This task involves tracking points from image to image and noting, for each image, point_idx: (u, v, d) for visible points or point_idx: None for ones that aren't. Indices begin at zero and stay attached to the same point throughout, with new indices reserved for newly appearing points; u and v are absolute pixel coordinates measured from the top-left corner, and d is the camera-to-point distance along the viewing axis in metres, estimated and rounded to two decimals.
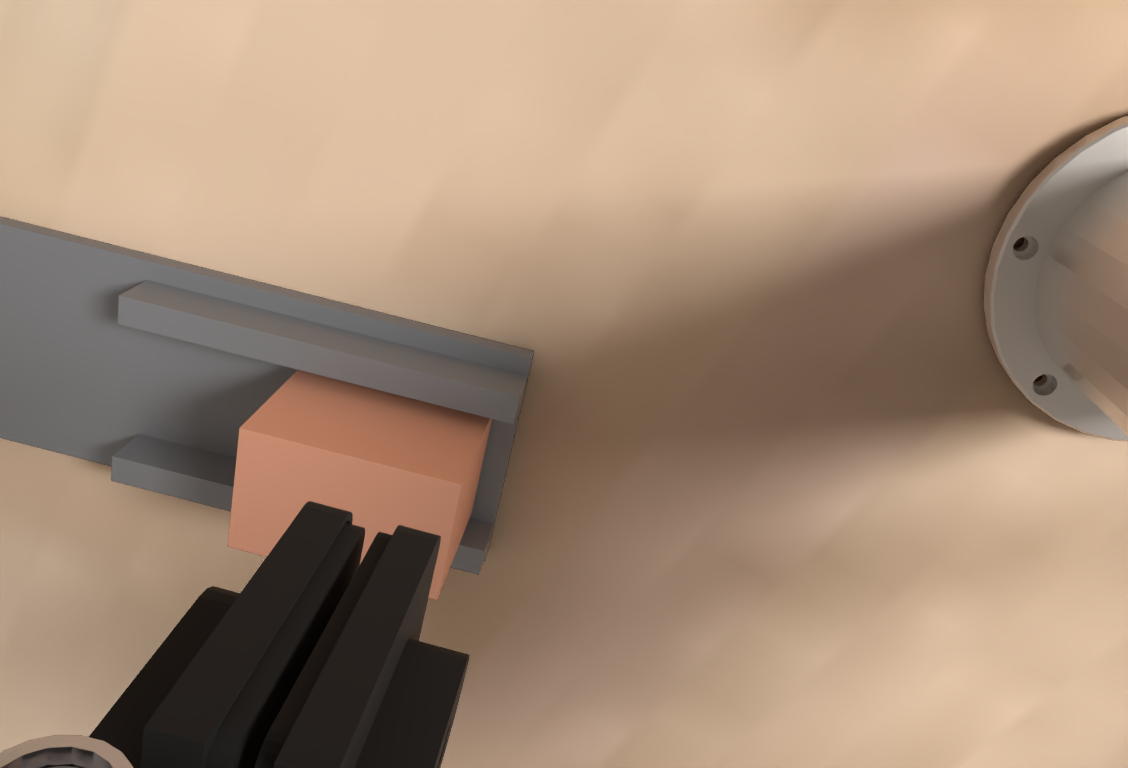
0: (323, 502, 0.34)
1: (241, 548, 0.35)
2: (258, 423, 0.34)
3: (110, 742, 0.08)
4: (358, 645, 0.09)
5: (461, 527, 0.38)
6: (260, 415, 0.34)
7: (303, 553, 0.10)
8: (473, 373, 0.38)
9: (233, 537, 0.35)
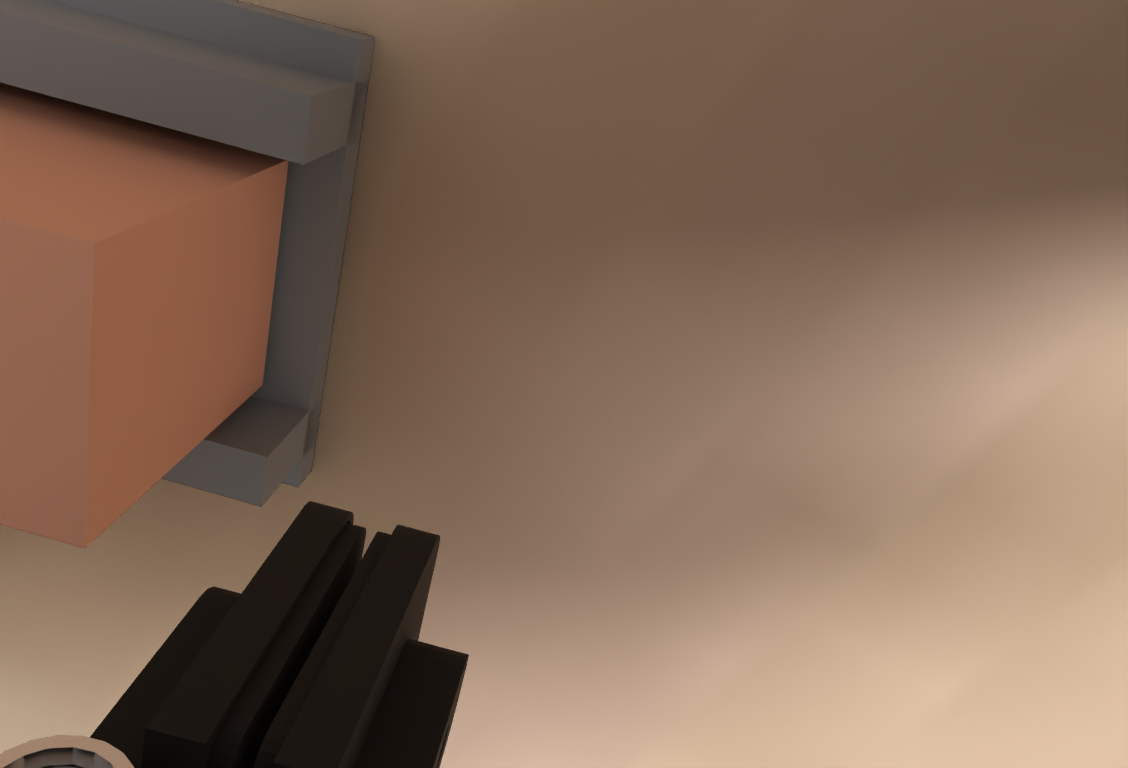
0: None
1: None
2: None
3: (111, 743, 0.08)
4: (357, 645, 0.09)
5: (195, 396, 0.17)
6: None
7: (304, 554, 0.10)
8: (226, 59, 0.17)
9: None
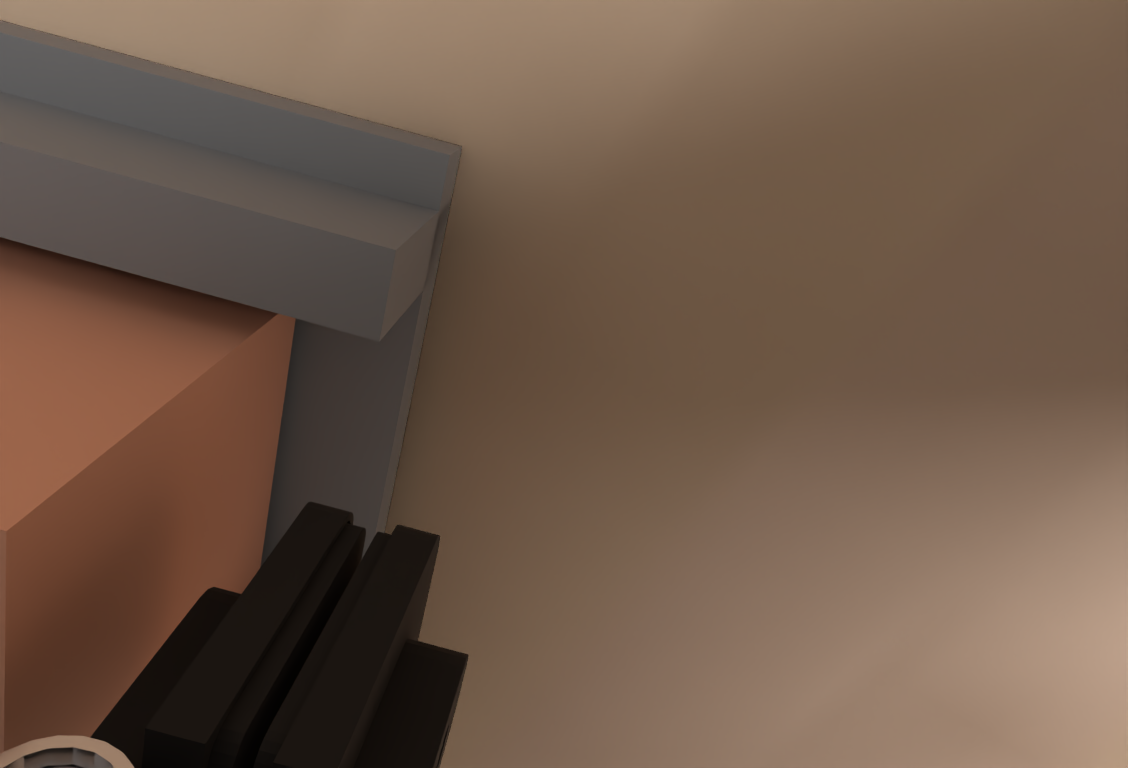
0: None
1: None
2: None
3: (111, 743, 0.08)
4: (357, 645, 0.09)
5: None
6: None
7: (304, 554, 0.10)
8: (267, 187, 0.12)
9: None
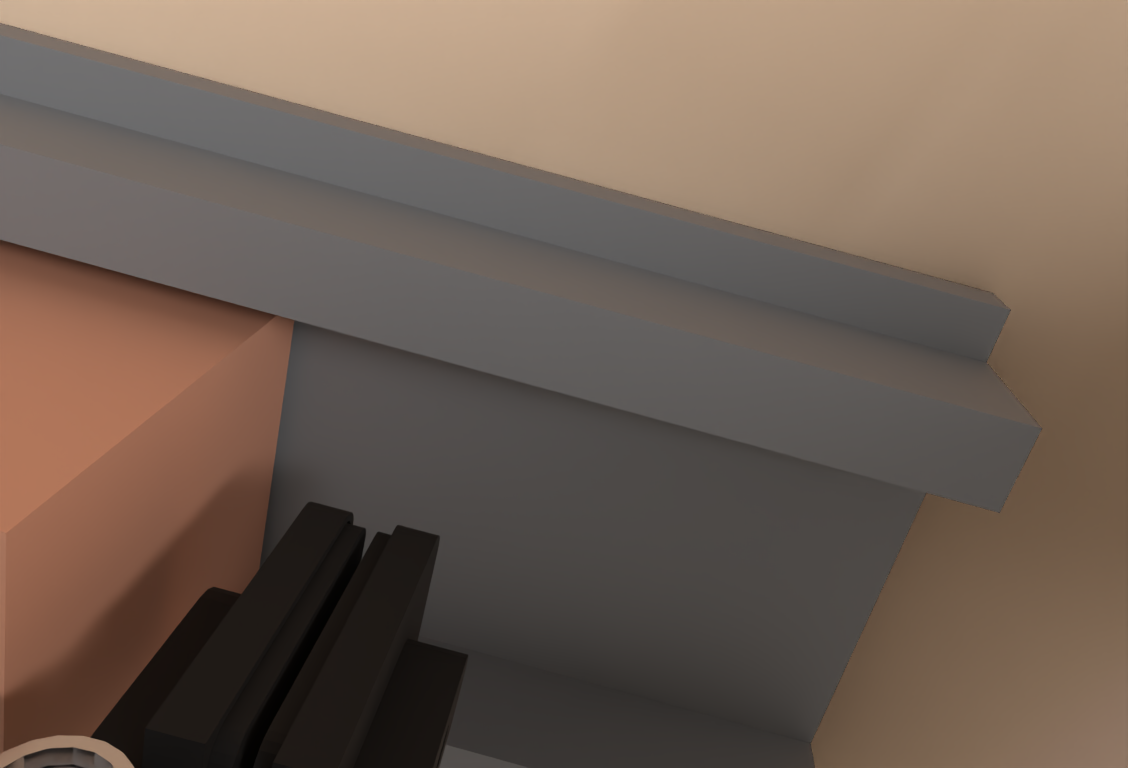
0: None
1: None
2: None
3: (111, 743, 0.08)
4: (357, 645, 0.09)
5: None
6: None
7: (304, 554, 0.10)
8: (859, 351, 0.12)
9: None
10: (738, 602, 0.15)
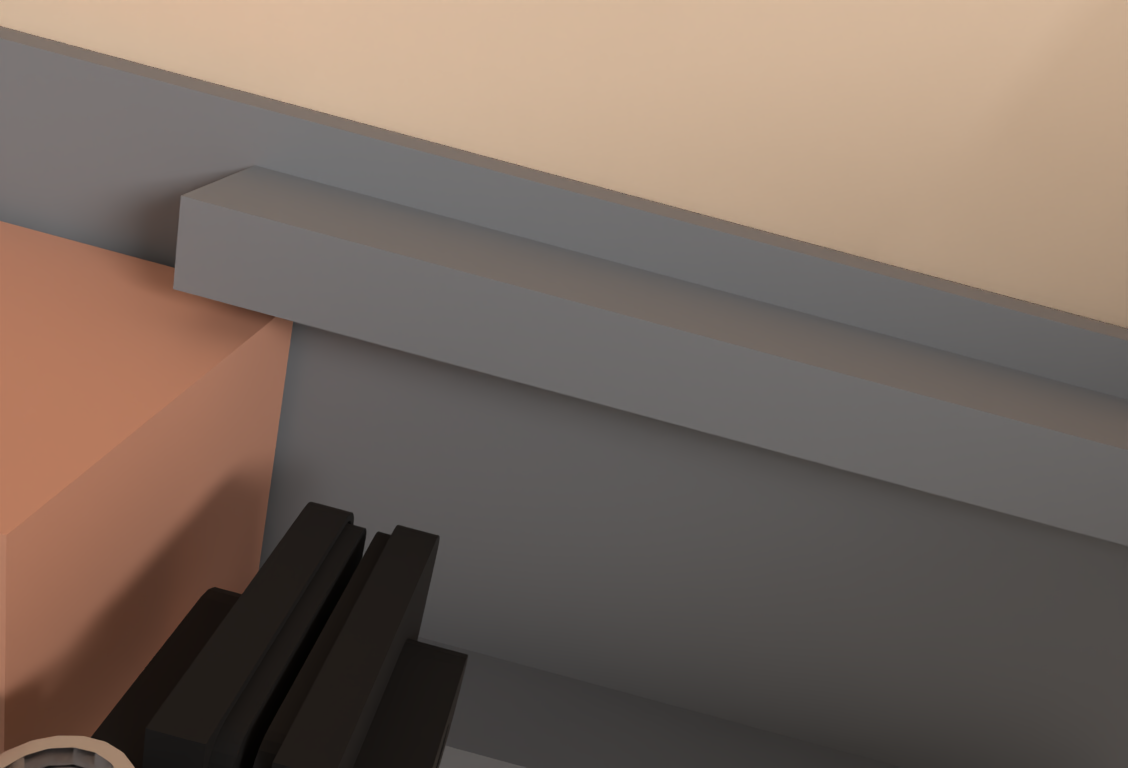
0: None
1: None
2: None
3: (112, 743, 0.08)
4: (356, 644, 0.09)
5: None
6: None
7: (305, 554, 0.10)
8: None
9: None
10: (1064, 689, 0.15)
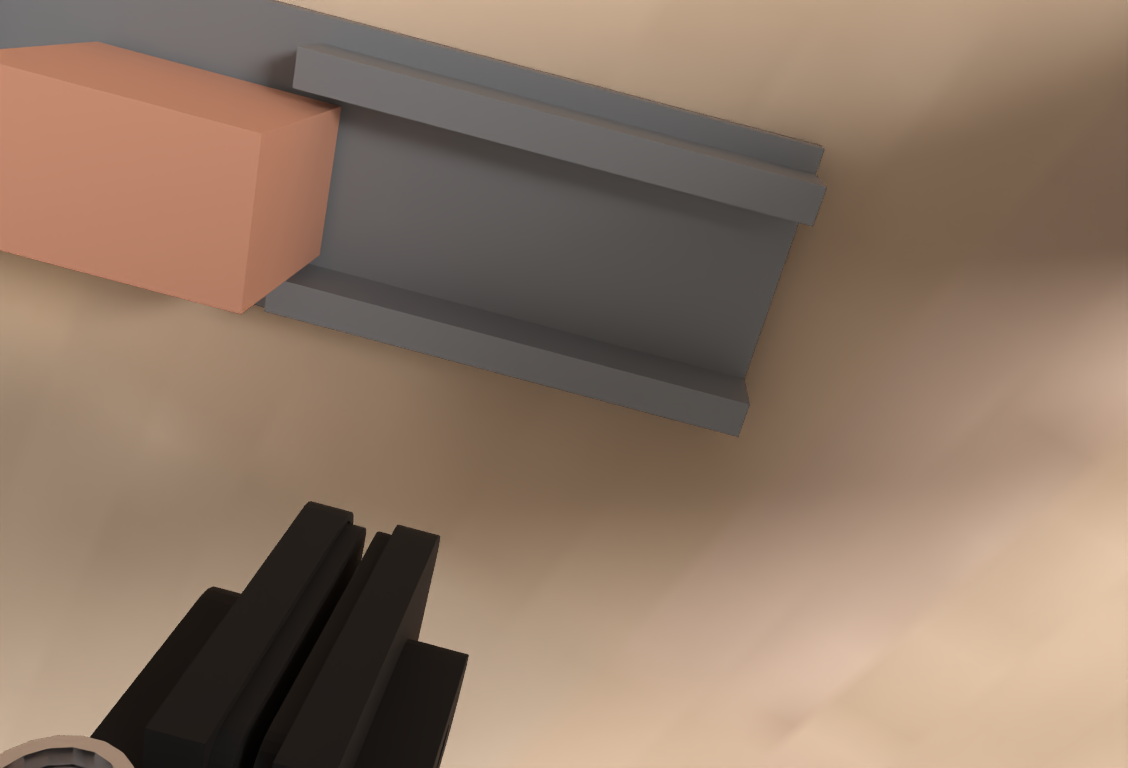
0: (79, 167, 0.25)
1: None
2: None
3: (111, 743, 0.08)
4: (357, 645, 0.09)
5: (290, 245, 0.29)
6: None
7: (303, 554, 0.10)
8: (756, 163, 0.29)
9: None
10: (707, 301, 0.32)
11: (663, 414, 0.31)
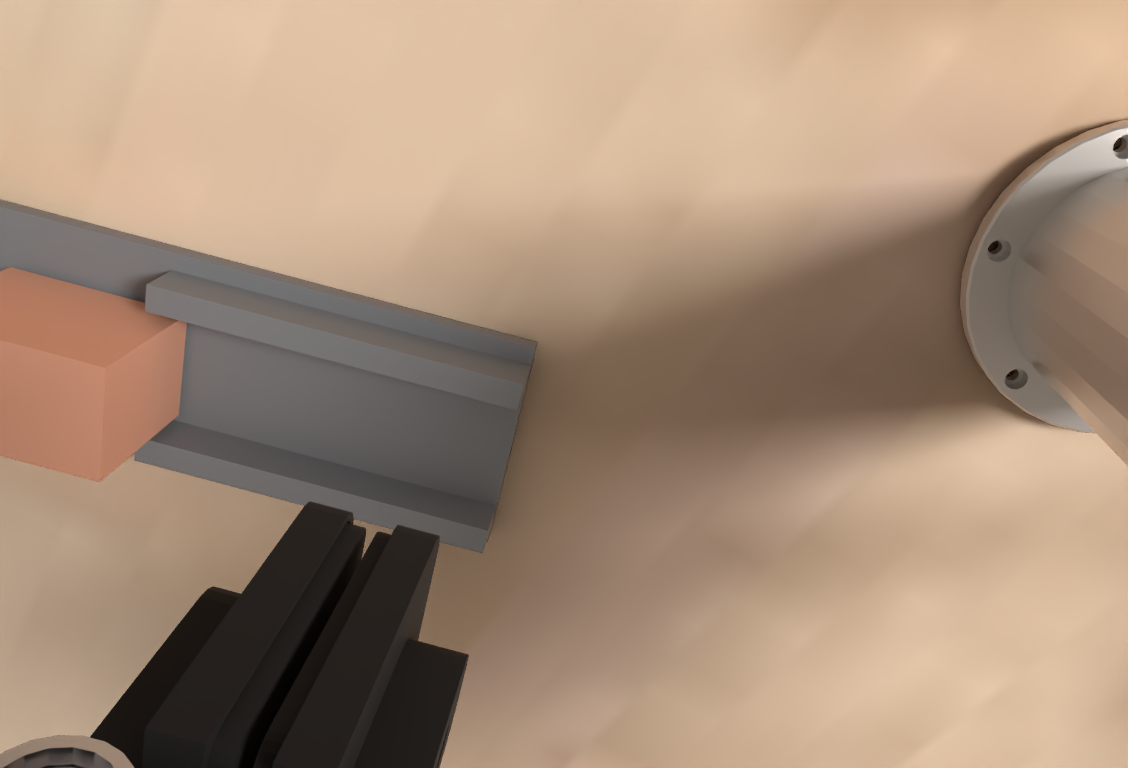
0: None
1: None
2: None
3: (111, 743, 0.08)
4: (357, 645, 0.09)
5: (145, 421, 0.40)
6: None
7: (304, 554, 0.10)
8: (480, 362, 0.40)
9: None
10: (463, 450, 0.43)
11: None
